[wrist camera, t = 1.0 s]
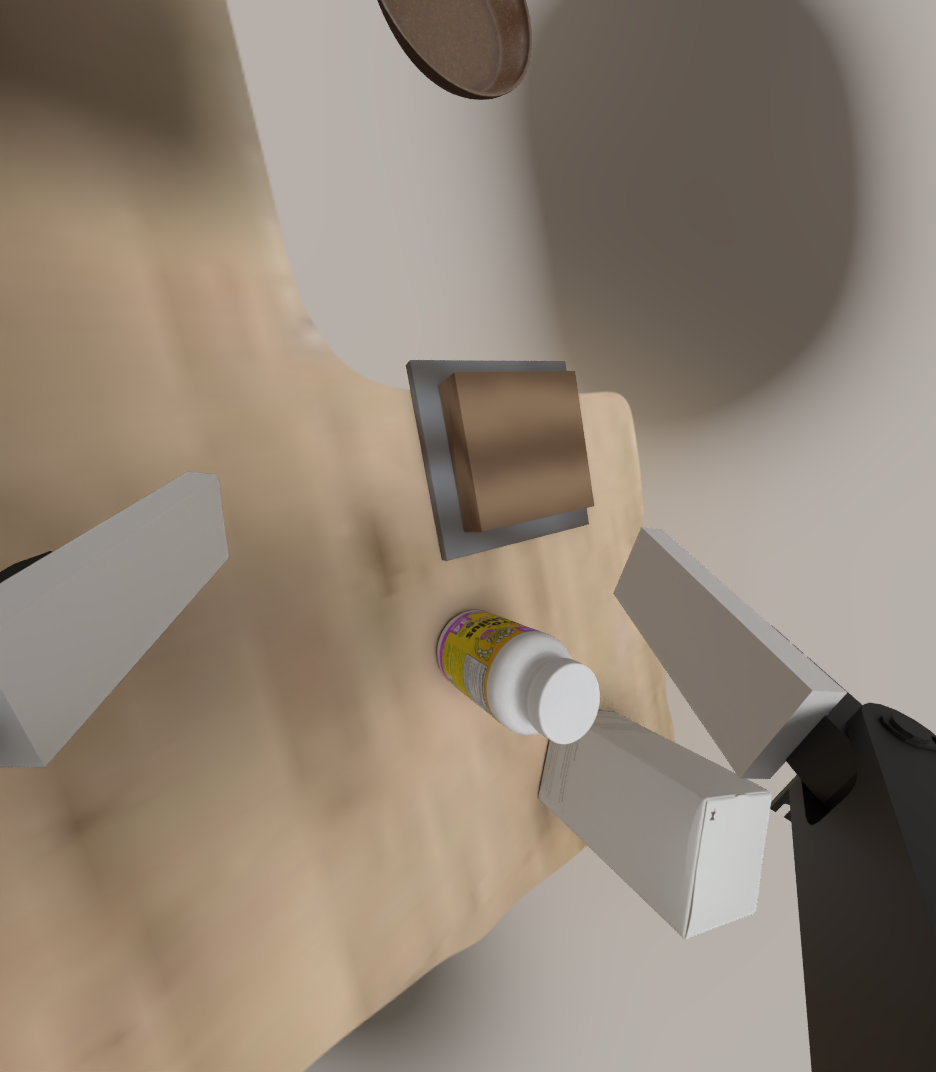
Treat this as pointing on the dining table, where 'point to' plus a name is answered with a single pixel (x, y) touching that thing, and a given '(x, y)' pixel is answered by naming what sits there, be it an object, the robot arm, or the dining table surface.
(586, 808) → the supplement box
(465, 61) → the saucer
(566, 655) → the supplement bottle
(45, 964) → the dining table surface
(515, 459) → the pedestal
